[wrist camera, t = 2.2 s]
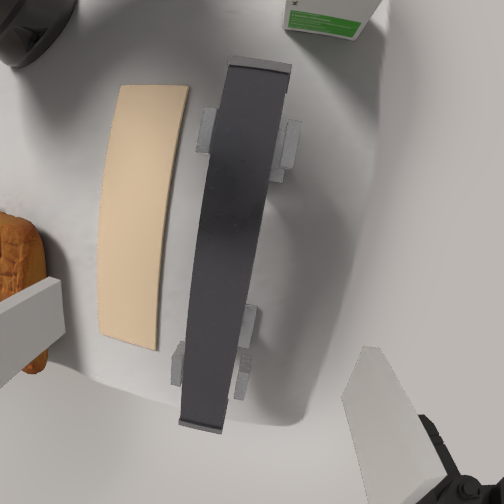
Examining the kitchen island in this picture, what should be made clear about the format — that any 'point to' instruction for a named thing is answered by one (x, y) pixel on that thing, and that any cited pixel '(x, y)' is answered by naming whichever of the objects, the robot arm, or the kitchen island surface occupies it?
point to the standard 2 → (283, 148)
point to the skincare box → (328, 16)
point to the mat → (136, 209)
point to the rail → (229, 234)
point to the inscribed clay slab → (21, 266)
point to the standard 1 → (243, 342)
